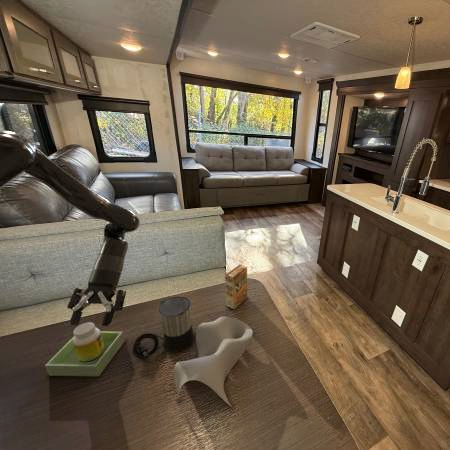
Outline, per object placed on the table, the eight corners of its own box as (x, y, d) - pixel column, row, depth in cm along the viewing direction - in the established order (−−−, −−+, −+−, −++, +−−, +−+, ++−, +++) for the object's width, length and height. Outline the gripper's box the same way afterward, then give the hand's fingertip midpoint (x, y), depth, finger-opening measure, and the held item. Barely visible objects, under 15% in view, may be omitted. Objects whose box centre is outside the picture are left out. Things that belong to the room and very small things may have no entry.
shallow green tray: (48, 375, 68) (44, 365, 67) (82, 339, 80) (79, 330, 78) (98, 376, 69) (95, 366, 68) (125, 340, 81) (122, 331, 79)
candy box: (234, 309, 98) (233, 277, 92) (225, 305, 99) (224, 274, 94) (247, 297, 105) (247, 266, 99) (239, 293, 107) (239, 263, 101)
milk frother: (200, 336, 85) (197, 302, 79) (159, 374, 71) (151, 336, 66) (171, 321, 90) (166, 287, 84) (127, 353, 77) (117, 317, 71)
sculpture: (204, 328, 88) (202, 306, 85) (256, 333, 88) (257, 312, 84) (166, 400, 65) (161, 375, 61) (236, 408, 65) (236, 383, 61)
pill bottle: (107, 356, 75) (99, 329, 70) (81, 369, 70) (70, 340, 66) (104, 343, 78) (95, 316, 74) (78, 354, 74) (68, 327, 70)
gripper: (74, 267, 74) (53, 324, 68) (124, 269, 76) (107, 326, 69) (91, 272, 81) (73, 324, 75) (136, 273, 82) (122, 326, 76)
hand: (89, 325), depth 72 cm, fingers open, 8 cm apart
